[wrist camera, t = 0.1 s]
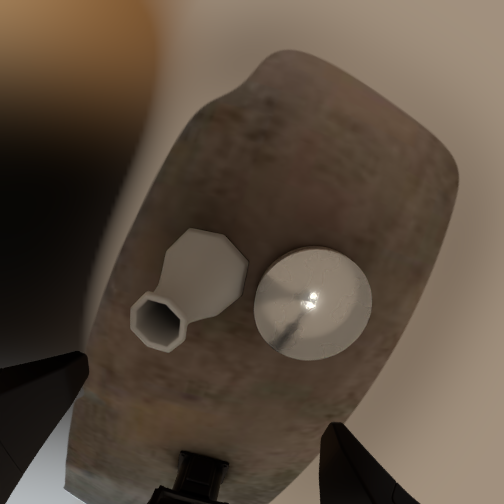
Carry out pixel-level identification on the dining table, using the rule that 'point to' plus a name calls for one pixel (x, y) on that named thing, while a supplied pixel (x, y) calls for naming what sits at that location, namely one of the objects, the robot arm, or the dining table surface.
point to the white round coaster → (312, 303)
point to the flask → (189, 288)
